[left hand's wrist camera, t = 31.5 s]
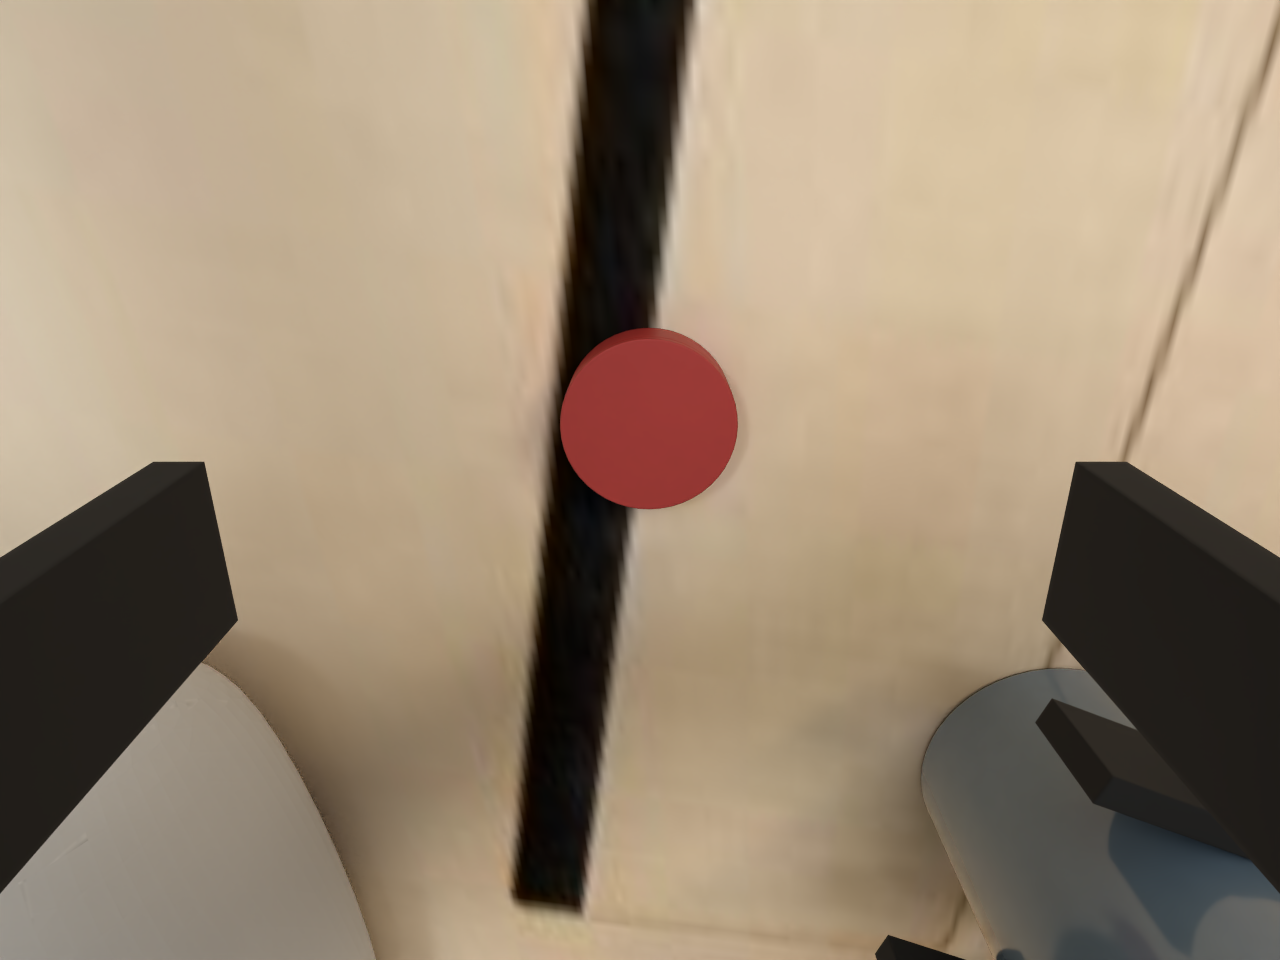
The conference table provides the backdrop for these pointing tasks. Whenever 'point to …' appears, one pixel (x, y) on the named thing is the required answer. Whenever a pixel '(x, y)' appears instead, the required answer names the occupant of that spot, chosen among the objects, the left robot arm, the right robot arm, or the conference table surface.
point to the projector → (189, 851)
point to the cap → (648, 419)
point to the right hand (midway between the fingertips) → (978, 878)
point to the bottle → (1077, 845)
